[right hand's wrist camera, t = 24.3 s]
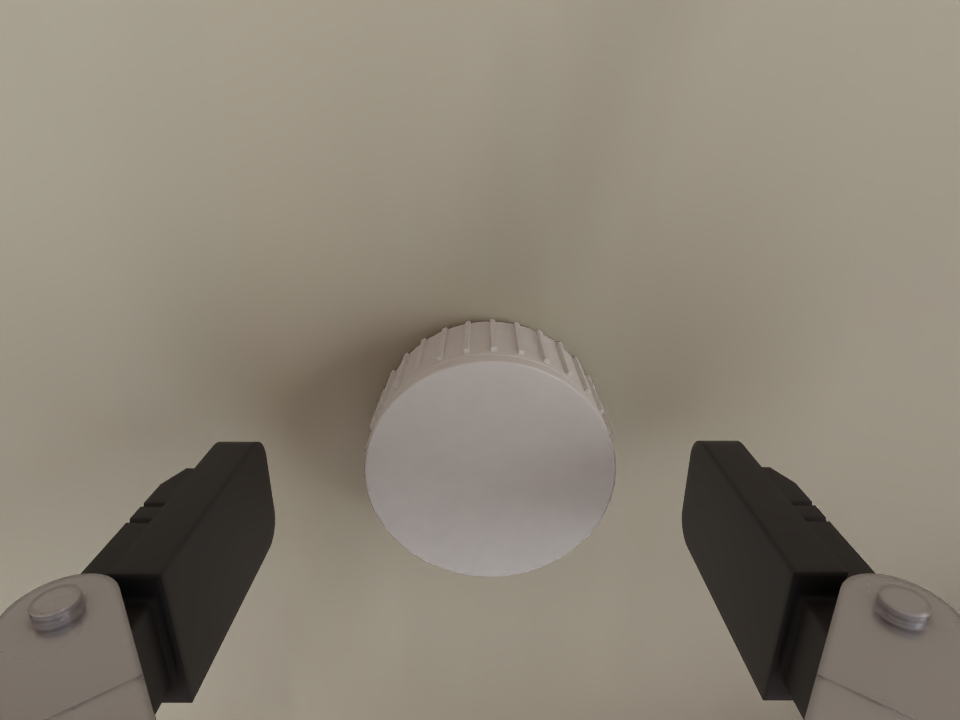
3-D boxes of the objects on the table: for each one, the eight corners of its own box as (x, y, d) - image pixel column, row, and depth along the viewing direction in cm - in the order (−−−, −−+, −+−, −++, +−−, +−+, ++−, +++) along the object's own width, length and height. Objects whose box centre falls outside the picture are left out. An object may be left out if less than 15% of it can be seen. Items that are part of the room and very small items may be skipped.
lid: (642, 431, 14) (672, 490, 11) (476, 546, 15) (475, 619, 13) (503, 269, 12) (507, 301, 10) (334, 410, 13) (305, 465, 11)
